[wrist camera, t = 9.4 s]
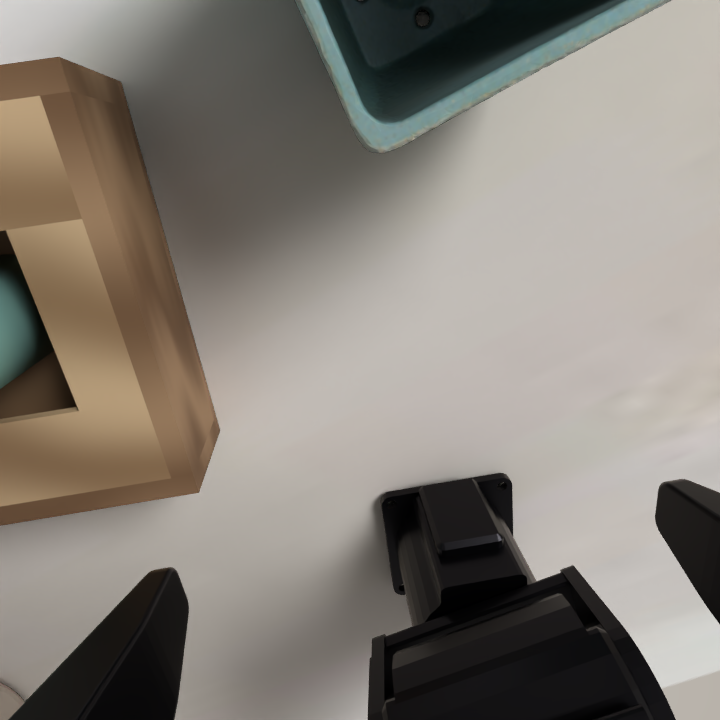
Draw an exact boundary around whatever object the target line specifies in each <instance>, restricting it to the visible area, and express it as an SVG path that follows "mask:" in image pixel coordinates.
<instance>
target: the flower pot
mask: <svg viewBox="0 0 720 720" xmlns="http://www.w3.org/2000/svg"><path fill="white" fill-rule="evenodd" d="M669 1H671V0H362V1H358V0H295V2H296V4H297V6H298V9H299V11H300V13H301V15H302V17H303V20H304V22H305V24H306V26H307V28H308V30H309V33H310V35H311V37H312V39H313V41H314V43H315V46H316V48H317V50H318V52H319V54H320V57H321V59H322V61H323V64H324V66H325V68H326V70H327V72H328V74H329V76H330V78H331V81H332V83H333V85H334V87H335V89H336V92H337V94H338V96H339V99H340V102H341V104H342V106H343V109H344V111H345V113H346V115H347V117H348V120H349V122H350V124H351V126H352V128H353V130H354V132H355V134H356V136H357V138H358V140H359V141H360V142H361V144H362V145H363V146H364V147H365V148H366V149H367V150H368V151H371V152H374V153H386V152H389V151H392V150H394V149H397V148H399V147H401V146H403V145H405V144H407V143H409V142H411V141H413V140H414V139H416V138H417V137H419V136H421V135H423V134H424V133H426V132H428V131H430V130H432V129H434V128H436V127H437V126H439V125H441V124H443V123H444V122H446V121H448V120H450V119H452V118H453V117H455V116H457V115H459V114H461V113H463V112H465V111H467V110H469V109H470V108H471V107H473V106H475V105H477V104H479V103H481V102H483V101H485V100H487V99H489V98H490V97H492V96H494V95H495V94H497V93H499V92H501V91H503V90H505V89H506V88H508V87H510V86H512V85H514V84H516V83H518V82H519V81H521V80H523V79H525V78H527V77H529V76H530V75H532V74H534V73H536V72H538V71H539V70H541V69H542V68H544V67H547V66H549V65H551V64H552V63H554V62H556V61H558V60H560V59H562V58H564V57H566V56H567V55H569V54H571V53H573V52H575V51H577V50H579V49H581V48H583V47H585V46H586V45H588V44H590V43H592V42H594V41H596V40H597V39H599V38H601V37H603V36H605V35H607V34H609V33H611V32H612V31H614V30H616V29H618V28H620V27H622V26H624V25H626V24H628V23H630V22H631V21H633V20H635V19H637V18H639V17H641V16H643V15H645V14H647V13H649V12H650V11H652V10H654V9H656V8H658V7H660V6H662V5H664V4H665V3H667V2H669ZM422 9H424V10H426V11H428V12H429V15H430V22H429V23H428V25H426V26H425V27H421V26H419V25H418V24H417V22H416V14H417V13H418V12H419V11H420V10H422Z"/></svg>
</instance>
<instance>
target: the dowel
mask: <svg viewBox="0 0 720 720" xmlns="http://www.w3.org/2000/svg"><path fill="white" fill-rule="evenodd" d="M53 351H54V348H53V345H52V343H51V341H50V338H49V336H48V333H47V331H46V328H45V326H44V323H43V321H42V318H41V316H40V313H39V311H38V308H37V306H36V304H35V301H34V299H33V296H32V294H31V291H30V289H29V286H28V284H27V281H26V279H25V276H24V274H23V271H22V269H21V266H20V264H19V262H18V259H17V257H16V255H13V254H5V255H0V389H1V388H3V387H4V386H5V385H7V384H8V383H10V382H11V381H12V380H14V379H15V378H16V377H18V376H19V375H21V374H22V373H23V372H25V371H26V370H28V369H29V368H30V367H32V366H33V365H35V364H36V363H37V362H39V361H40V360H42V359H43V358H44V357H46V356H47V355H49V354H50V353H51V352H53Z"/></svg>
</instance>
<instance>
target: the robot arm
mask: <svg viewBox="0 0 720 720" xmlns="http://www.w3.org/2000/svg"><path fill="white" fill-rule="evenodd" d="M501 482H504V483H503V484H502V485H500V486H497V485H498V484H499V483H501ZM390 501H395V502H394V503H393V504H388V502H390ZM381 506H382V513H383V520H384V527H385V534H386V540H387V547H388V554H389V561H390V568H391V575H392V581H393V587H394V591H395V592H396V593H397V594H400V595H405V594H406V598H407V603H408V608H409V612H410V617H411V622H412V626H413V627H410V628H408V629H405V630H402V631H399V632H397V633H394V634H391V635H388V636H386V635H385V634H384V635H381V636H378V637H375V638H373V639H372V657H371V658H370V667H369V697H368V720H676V719H675V717H674V715H673V712H672V710H671V708H670V706H669V704H668V701H667V699H666V697H665V695H664V693H663V691H662V689H661V687H660V685H659V683H658V682H657V680H656V678H655V676H654V674H653V673H652V671H651V669H650V667H649V665H648V664H647V662H646V660H645V659H644V657H643V655H642V654H641V652H640V650H639V649H638V647H637V646H636V644H635V643H634V641H633V640H632V638H631V637H630V635H629V634H628V632H627V631H626V630H625V628H624V627H623V626H622V625H621V623H620V622H619V621H618V620H617V618H616V617H615V616H614V615H613V613H612V612H611V611H610V610H609V609H608V607H607V606H606V605H605V604H604V602H603V601H602V600H601V599H600V598H599V596H598V595H597V594H596V593H595V591H594V590H593V589H592V588H591V586H590V585H589V584H588V583H587V582H586V580H585V579H584V578H583V577H582V575H581V574H580V573H579V572H578V571H577V569H576V568H575V567H574V566H570V567H567V568H564V569H562V570H560V571H561V573H558V574H556V575H553V576H550V577H547V578H545V579H542V580H539V581H536V579H535V577H534V576H533V574H532V572H531V570H530V568H529V566H528V564H527V562H526V560H525V559H524V557H523V555H522V553H521V551H520V549H519V547H518V545H517V543H516V542H515V540H514V538H513V508H512V483H511V480H510V479H509V477H508V476H507V475H506V474H504V473H498V474H492V475H486V476H480V477H474V478H467V479H462V480H456V481H450V482H444V483H438V484H432V485H426V486H420V487H414V488H408V489H402V490H396V491H390V492H387V493H385V494H384V495H383V496H382V498H381ZM655 520H656V525H657V527H658V530H659V531H660V533H661V535H662V536H663V538H664V540H665V541H666V543H667V544H668V546H669V548H670V549H671V551H672V552H673V554H674V556H675V557H676V559H677V560H678V562H679V564H680V565H681V567H682V568H683V570H684V571H685V573H686V575H687V576H688V578H689V579H690V581H691V583H692V584H693V586H694V587H695V589H696V591H697V592H698V594H699V595H700V597H701V598H702V600H703V601H704V603H705V604H706V606H707V607H708V609H709V610H710V611H711V613H712V614H713V616H714V617H715V618H716V620H717V621H718V622H719V624H720V493H719V492H716V491H714V490H711V489H709V488H706V487H704V486H701V485H699V484H696V483H694V482H691V481H689V480H685V479H678V480H673V481H667V482H663V483H662V484H661V485H660V486H659V490H658V498H657V506H656V514H655ZM402 584H404V585H402ZM188 614H189V605H188V600H187V597H186V594H185V591H184V588H183V586H182V583H181V580H180V578H179V575H178V573H177V571H176V570H175V569H174V568H172V567H169V568H163V569H157V570H153V571H151V572H149V573H148V574H147V575H146V576H145V577H144V578H143V579H142V580H141V581H140V582H139V583H138V584H137V585H136V586H135V587H134V588H133V589H132V591H131V592H130V593H129V594H128V595H127V596H126V597H125V598H124V599H123V600H122V601H121V602H120V603H119V604H118V605H117V606H116V607H115V608H114V609H113V610H112V611H111V613H110V614H109V615H108V616H107V617H106V618H105V619H104V620H103V621H102V622H101V623H100V624H99V625H98V626H97V627H96V628H95V629H94V630H93V631H92V632H91V633H90V634H89V636H88V637H87V638H86V639H85V640H84V641H83V642H82V643H81V644H80V645H79V646H78V647H77V648H76V649H75V650H74V651H73V652H72V653H71V654H70V655H69V656H68V658H67V659H66V660H65V661H64V662H63V663H62V664H61V665H60V666H59V667H58V668H57V669H56V670H55V671H54V672H53V673H52V674H51V675H50V676H49V677H48V678H47V679H46V681H45V682H44V683H43V684H42V685H41V686H40V687H39V688H38V689H37V690H36V691H35V692H34V693H33V694H32V695H31V696H30V697H29V698H28V699H27V700H26V701H25V703H24V704H23V705H22V706H21V707H20V708H19V709H18V710H17V711H16V712H15V713H14V714H13V715H12V716H11V717H10V718H9V719H8V720H174V718H175V713H176V708H177V703H178V696H179V689H180V681H181V673H182V664H183V656H184V648H185V639H186V631H187V623H188Z"/></svg>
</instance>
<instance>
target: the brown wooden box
mask: <svg viewBox="0 0 720 720" xmlns="http://www.w3.org/2000/svg"><path fill="white" fill-rule="evenodd" d="M5 254H13V255H16V257H17V259H18V262H19V264H20V266H21V269H22V271H23V274H24V276H25V279H26V281H27V284H28V286H29V289H30V291H31V294H32V296H33V299H34V301H35V304H36V306H37V308H38V311H39V313H40V316H41V318H42V321H43V323H44V326H45V328H46V331H47V333H48V336H49V338H50V341H51V343H52V345H53V348H54V351H53V352H51V353H50V354H49V355H47V356H46V357H44V358H43V359H42V360H40V361H39V362H37V363H36V364H35V365H33V366H32V367H30V368H29V369H28V370H26V371H25V372H23V373H22V374H21V375H19V376H18V377H16V378H15V379H14V380H12V381H11V382H10V383H8V384H7V385H5V386H4V387H3V388H1V389H0V526H1V525H7V524H13V523H19V522H25V521H31V520H37V519H43V518H49V517H55V516H61V515H67V514H73V513H79V512H85V511H91V510H97V509H103V508H109V507H115V506H121V505H127V504H133V503H139V502H145V501H151V500H157V499H163V498H169V497H175V496H181V495H187V494H193V493H199V491H200V488H201V485H202V482H203V479H204V476H205V473H206V470H207V467H208V464H209V461H210V459H211V456H212V453H213V450H214V447H215V444H216V441H217V438H218V435H219V432H220V429H219V425H218V422H217V418H216V415H215V411H214V408H213V404H212V401H211V397H210V393H209V390H208V386H207V383H206V379H205V376H204V372H203V369H202V365H201V362H200V358H199V355H198V351H197V348H196V344H195V341H194V337H193V334H192V330H191V327H190V323H189V320H188V316H187V312H186V309H185V305H184V302H183V298H182V295H181V291H180V288H179V284H178V281H177V277H176V274H175V270H174V267H173V263H172V260H171V256H170V253H169V249H168V246H167V242H166V238H165V235H164V231H163V228H162V224H161V221H160V217H159V214H158V210H157V207H156V203H155V200H154V196H153V193H152V189H151V186H150V182H149V179H148V175H147V172H146V168H145V164H144V161H143V157H142V154H141V150H140V147H139V143H138V140H137V136H136V133H135V129H134V126H133V122H132V119H131V115H130V112H129V108H128V105H127V101H126V98H125V94H124V90H123V87H122V83H121V82H120V81H118V80H115V79H113V78H110V77H108V76H105V75H103V74H100V73H98V72H95V71H93V70H90V69H88V68H85V67H83V66H80V65H78V64H75V63H73V62H70V61H68V60H65V59H63V58H60V57H55V58H47V59H40V60H33V61H26V62H18V63H11V64H4V65H0V255H5Z"/></svg>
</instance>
